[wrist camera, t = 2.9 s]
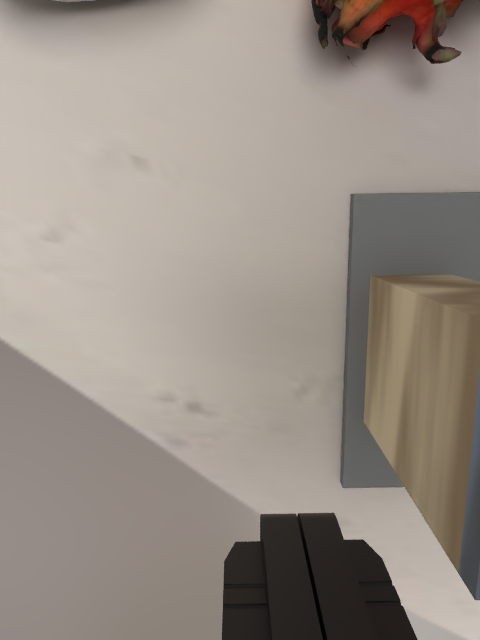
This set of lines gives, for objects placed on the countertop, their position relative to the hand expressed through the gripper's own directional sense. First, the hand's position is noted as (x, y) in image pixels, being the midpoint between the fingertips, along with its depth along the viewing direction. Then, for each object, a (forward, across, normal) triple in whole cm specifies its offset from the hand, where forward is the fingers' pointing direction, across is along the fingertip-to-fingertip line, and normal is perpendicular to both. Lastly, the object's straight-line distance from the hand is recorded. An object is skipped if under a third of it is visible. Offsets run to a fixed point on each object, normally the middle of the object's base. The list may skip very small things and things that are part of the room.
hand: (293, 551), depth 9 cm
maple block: (+15, -8, 0) cm, 17 cm away
